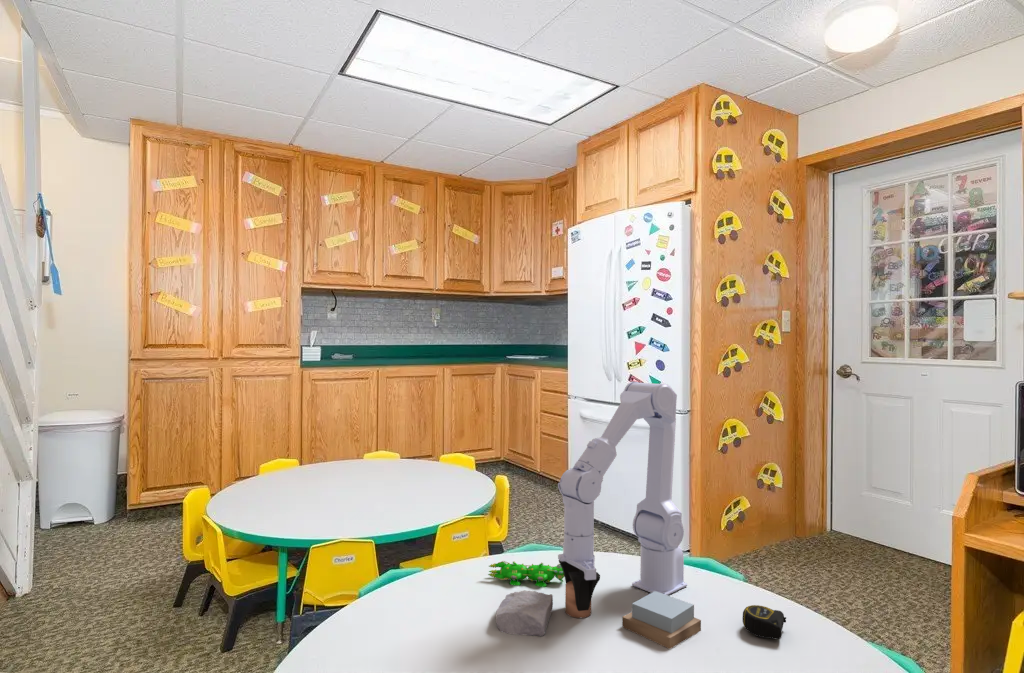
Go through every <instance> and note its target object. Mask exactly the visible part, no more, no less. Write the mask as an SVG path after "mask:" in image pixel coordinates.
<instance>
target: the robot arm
mask: <svg viewBox="0 0 1024 673" xmlns="http://www.w3.org/2000/svg"><path fill="white" fill-rule="evenodd" d="M677 397H678V395H677V393H676V392H675V390H674V389H673V388H672V387H671V385H669V384H668V383H652V382H651V383H650V382H638V381H631V382H628V383H627V385H625V387H624V389H623V391H622V392H621V393H620V394H619V400H620V404H619V405H618V407H617V409H616V410H615V412H614V414H613V415H612V417H611V419H610V421H609V423H608V424H607V426H606V428H605V429H604V431H603V433H602V435H601V436H600V437H597V438H596V437H595V438H593V439H592V440H590V441H588V443H587V444H586V448H585V449H584V451H583V453H581V456H579V458H578V460H577V461H576V462H575V463H574V466H573V467H572V468H569V469H567V470H565V471H564V472H563V473H562V475H561V477H560V480H559V482H558V483H557V488H558V491H559V493H560V494H561V497H562V504H563V506H564V510H563V513H564V516H563V517H564V518H563V531H564V532H563V544H562V552H563V553H560V554H557V559H558V564H560V565H561V567H562V570H563V573H564V580H565V581H564V582H565V584H566V583H567V582H569V581H572V583H573V587H574V591H575V600H576V606H577V610H578V611H585V610H589V607H590V603H591V604H592V598H593V595H594V591H595V588H596V586H597V585H598V583H599V581H600V579H601V574H600V573H599V572H598V571H597V568H596V566H595V561H596V560H595V559H596V558H595V557H596V556H595V554H594V553H595V552H594V549H595V548H594V547H595V542H594V541H595V538H594V536H595V534H594V532H595V531H594V530H595V529H594V528H595V525H594V523H595V519H594V518H595V500H597V498H598V497H599V496H600V494H601V492H602V491H601V490H602V484H603V481H604V476H605V474H606V473H607V471H608V469H610V467H611V465H612V463H613V462H614V461H615V459H616V458H617V449H616V447H617V446H618V445H619V443H620V442H621V440H622V439H623V438H624V437H625V435H626V434H627V432H629V431H630V429H631V428H632V426H634V424H635V423H636V422H637V420H640V419H643V420H644V421H645V422H646V424H648V425H649V432H648V433H649V435H648V436H649V438H648V453H647V468H646V471H647V472H646V486H645V488H646V489H645V498H644V499H642V500H641V501H639V502H638V503H637V504H636V512H635V515H634V517H633V521H632V530H633V533H634V535H635V536H636V537H637V543H638V542H639V544H640V569H639V570H640V579H638V580H636V581H633V582H631V586H632V587H635V588H637V589H640V590H643V591H646V592H649V594H651V593H652V592H654V591H657V592H660V593H662V594H665V595H668V596H670V594H673V593H675V592H677V591H679V590H681V589H684V588H685V587H687V586H688V583H687V582H684V580H685V579H684V576H685V575H684V573H685V572H684V571H685V570H684V569H685V567H684V566H685V565H684V564H685V562H684V559H685V557H684V556H685V555H684V552H683V549H682V548H681V546H680V544H681V543H682V542H683V539H684V536H685V534H684V532H685V531H684V530H685V529H684V526H683V520H682V517H683V516H682V514H683V513H682V511H681V510H680V509H679V508H678V507H677V505H676V504H675V503H674V501H672V497H673V496H672V494H673V480H674V479H673V478H674V460H675V445H676V444H675V442H676V428H677V425H676V424H677V418H676V416H677V415H676V414H677V399H678V398H677Z"/></svg>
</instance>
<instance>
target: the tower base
mask: <svg viewBox="0 0 1024 673" xmlns="http://www.w3.org/2000/svg"><path fill="white" fill-rule="evenodd" d="M621 619H622V620H621V623H622V624H621V625H622V628H623V629H626V630H627V631H629V632H633V633H635V634H637V635H639V636H641V637H643V638H646V639H647V640H650V641H652V642H654V643H656V644H657V645H661V646H662V647H665V648H667V649H669V650H671V649H672V648H674V647H676V646H678V645H679V644H681V643H682V642H684V641H685V640H688V639H689V638H691V637H692V636H695V635H696V634H697V633H699V632H701V631H702V619H700V618H698V617H695V616H694V619H693V620H691V621H690V622H688V623H687V624H685V625H684V626H682V627H681V628H679V629H678V630H676V631H675V632H673V633H669V632H667V631H664V630H662V629H659V628H657V627H655V626H652V625H650V624H647V623H645V622H642V621H640V620H637V619H635V618H632V611H631V612H629V613H627V614H625V615H623V616H622V618H621Z"/></svg>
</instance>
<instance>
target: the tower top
mask: <svg viewBox="0 0 1024 673" xmlns="http://www.w3.org/2000/svg"><path fill="white" fill-rule="evenodd" d="M631 612H632V618H635V619H637V620H640V621H642V622H645V623H647V624H650V625H652V626H655V627H657V628H659V629H662V630H664V631H667V632H669V633H673V632H675V631H676V630H678V629H679V628H681V627H682V626H684V625H685V624H687V623H688V622H690V621H691V620H693V619H694V617H695V604H693V603H691V602H688V601H685V600H682V599H680V598H676V597H674V596H671V595H665V594H662V593H660V592H657V591H654V592H652V593H649V594H647V595H645V596H643V597H641V598H640V599H638V600H636V601H634V602H632V603H631Z"/></svg>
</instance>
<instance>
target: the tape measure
mask: <svg viewBox="0 0 1024 673" xmlns="http://www.w3.org/2000/svg"><path fill="white" fill-rule="evenodd" d="M786 619H787V617H785V615H784V612H783V611H781V610H777V609H772V608H769V607H768V606H765V605H759V604H758V605H757V604H753V605H748V606H746V607H745V608H744V610H743V611H742V625H743V626H744V629H745V630H746V631H747V632H749V633H750V634H751V635H754V636H757V637H760V638H766V639H772V640H773V639H774V640H779V639H781V638H782V633H783V627H784V624H785V623H787V620H786Z"/></svg>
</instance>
